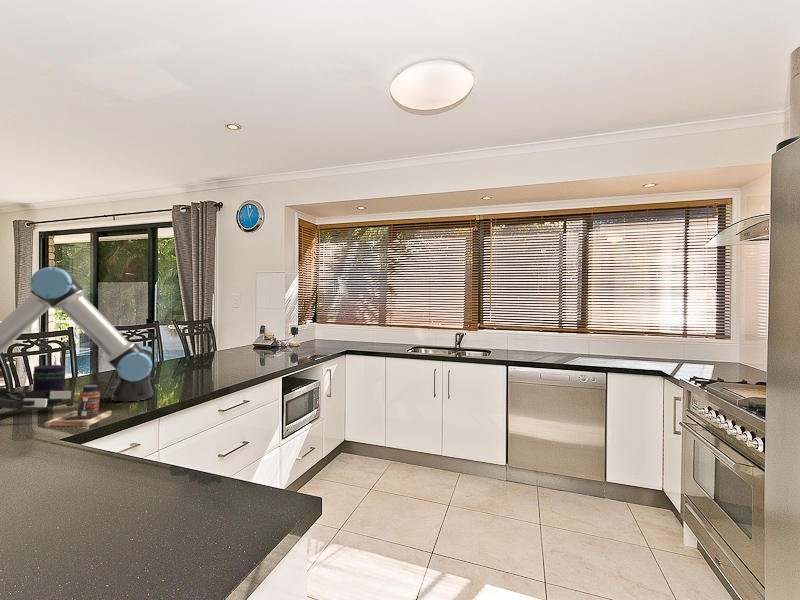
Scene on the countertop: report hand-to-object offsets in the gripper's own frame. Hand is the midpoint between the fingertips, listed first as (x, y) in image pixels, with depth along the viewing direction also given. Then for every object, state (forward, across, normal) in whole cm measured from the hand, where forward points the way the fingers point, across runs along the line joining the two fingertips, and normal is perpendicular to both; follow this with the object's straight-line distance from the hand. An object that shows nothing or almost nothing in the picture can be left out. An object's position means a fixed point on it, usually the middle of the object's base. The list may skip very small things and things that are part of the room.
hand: (59, 398), depth 143 cm
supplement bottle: (+10, 0, -7) cm, 12 cm away
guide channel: (+10, +5, -6) cm, 12 cm away
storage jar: (-16, -21, -7) cm, 27 cm away
